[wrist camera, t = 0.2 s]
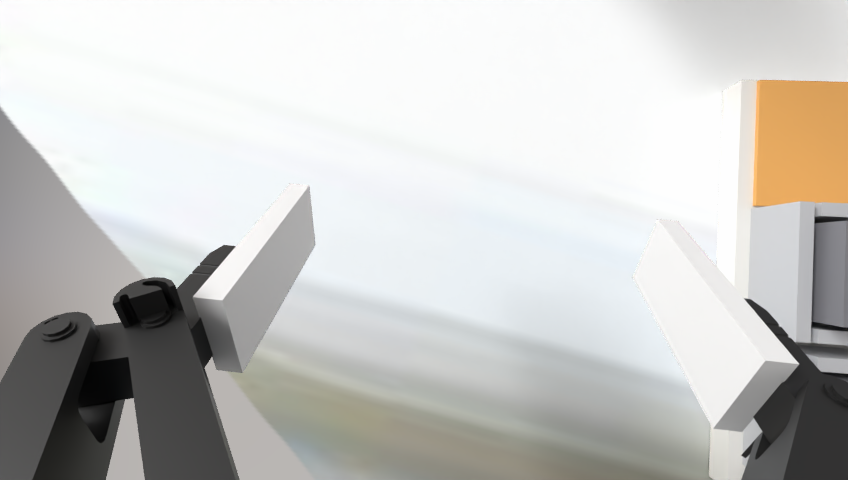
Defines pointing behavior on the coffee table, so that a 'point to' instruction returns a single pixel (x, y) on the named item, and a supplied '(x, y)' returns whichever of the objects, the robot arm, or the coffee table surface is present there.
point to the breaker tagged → (830, 274)
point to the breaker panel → (779, 217)
